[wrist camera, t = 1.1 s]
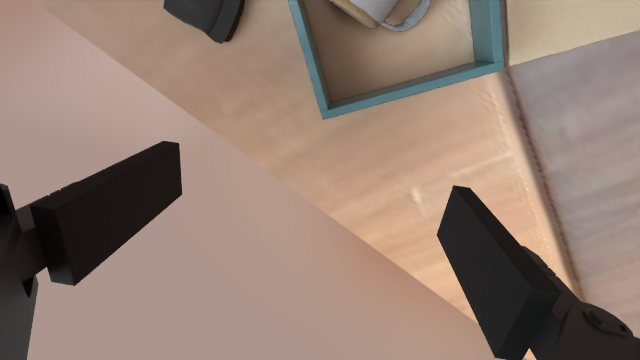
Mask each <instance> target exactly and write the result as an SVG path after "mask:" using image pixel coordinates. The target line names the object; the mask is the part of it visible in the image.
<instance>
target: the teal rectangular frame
mask: <svg viewBox="0 0 640 360" xmlns="http://www.w3.org/2000/svg"><path fill="white" fill-rule="evenodd" d="M288 2H289V5H290V9H291V12H292V16H293V19H294V23H295V26H296V30H297V33H298V36H299V40H300V43H301V47H302V50H303V54H304V57H305V61H306V64H307V67H308V71H309V74H310V78H311V81H312V85H313V88H314V92H315V95H316V98H317V102H318V105H319V109H320V112H321V116H322V119H323V120H324V119H328V118H331V117H335V116H339V115H342V114H346V113H350V112H353V111H357V110H360V109H364V108H368V107H371V106H375V105H378V104H382V103H386V102H389V101H393V100H396V99H400V98H404V97H407V96H411V95H414V94H418V93H422V92H425V91H429V90H432V89H436V88H440V87H443V86H447V85H450V84H454V83H458V82H461V81H465V80H468V79H472V78H476V77H479V76H483V75H486V74H490V73H494V72H497V71H501V70H504V61H503V45H502V31H501V16H500V1H499V0H469V6H470V16H471V26H472V36H473V46H474V56H475V61H476V62H472V63H469V64H465V65H462V66H458V67H455V68H451V69H448V70H444V71H441V72H437V73H434V74H430V75H427V76H423V77H420V78H416V79H413V80H409V81H406V82H402V83H399V84H395V85H392V86H388V87H385V88H381V89H378V90H374V91H371V92H368V93H364V94H361V95H357V96H354V97H350V98H347V99H343V100H340V101H336V102H333V103H331V102H330V98H329V94H328V91H327V87H326V84H325V80H324V76H323V73H322V69H321V65H320V62H319V58H318V54H317V51H316V47H315V43H314V40H313V36H312V33H311V29H310V25H309V22H308V18H307V14H306V11H305V7H304V3H303V0H288Z"/></svg>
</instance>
